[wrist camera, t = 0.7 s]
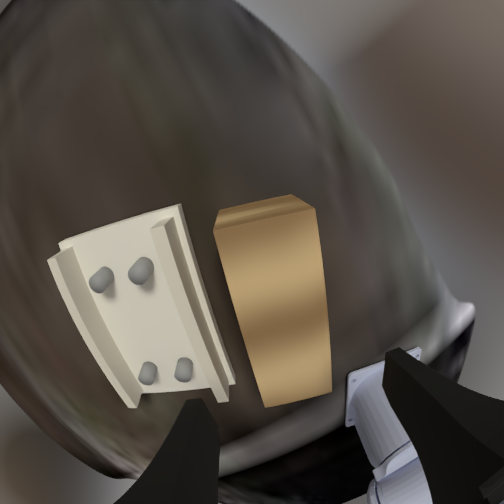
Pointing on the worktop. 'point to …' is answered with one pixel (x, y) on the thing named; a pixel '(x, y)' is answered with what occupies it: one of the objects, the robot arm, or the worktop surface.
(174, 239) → the peg base
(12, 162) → the worktop surface
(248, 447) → the worktop surface
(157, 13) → the worktop surface
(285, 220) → the golden brown block
